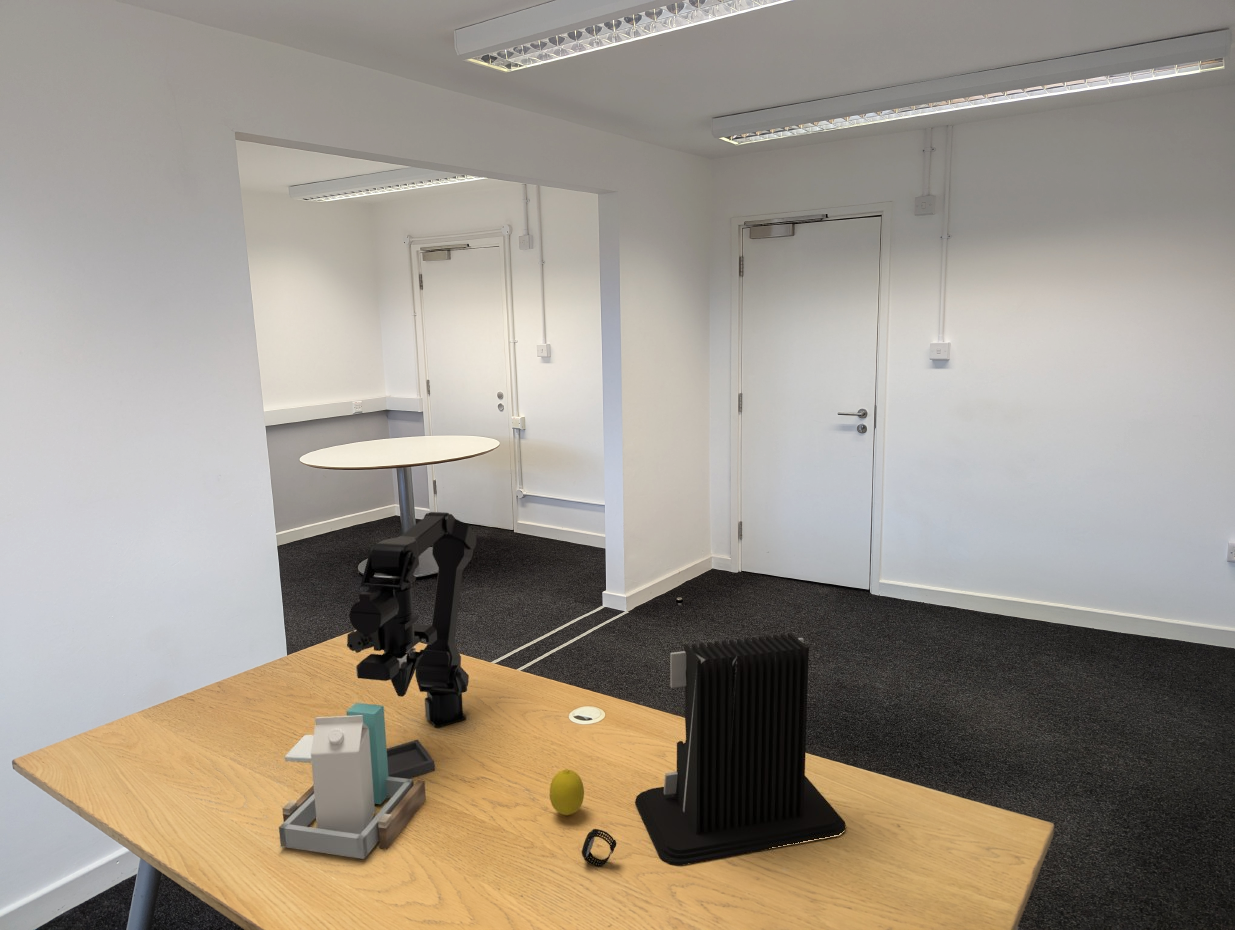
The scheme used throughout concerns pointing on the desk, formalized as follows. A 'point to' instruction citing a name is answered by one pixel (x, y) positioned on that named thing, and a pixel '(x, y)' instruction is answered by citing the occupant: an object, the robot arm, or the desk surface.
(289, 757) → the external hard drive
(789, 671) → the black ribbed block
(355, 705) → the tray
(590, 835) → the smartwatch
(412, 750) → the tray
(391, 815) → the channel
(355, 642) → the robot arm
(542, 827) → the desk surface
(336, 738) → the milk carton
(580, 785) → the lemon
